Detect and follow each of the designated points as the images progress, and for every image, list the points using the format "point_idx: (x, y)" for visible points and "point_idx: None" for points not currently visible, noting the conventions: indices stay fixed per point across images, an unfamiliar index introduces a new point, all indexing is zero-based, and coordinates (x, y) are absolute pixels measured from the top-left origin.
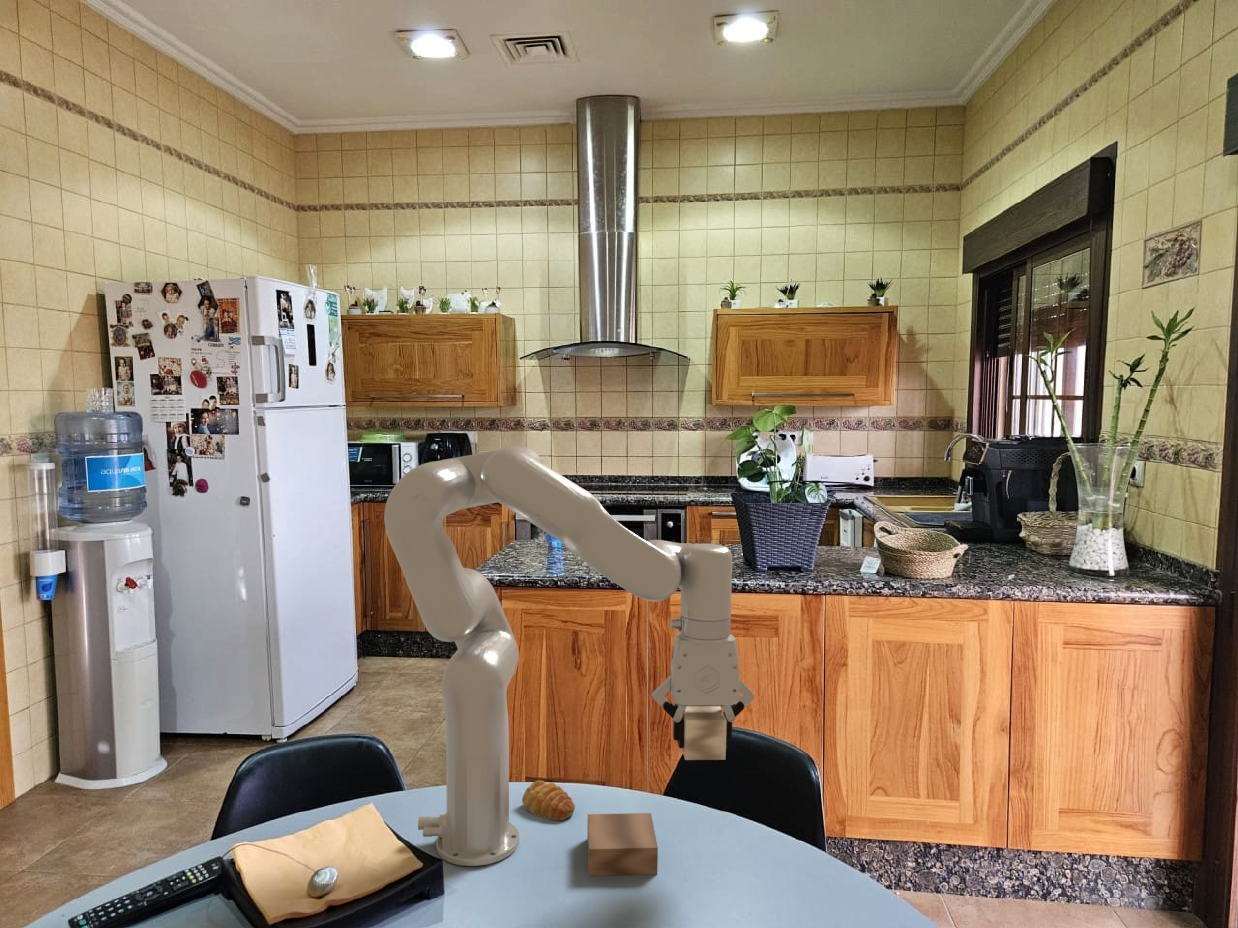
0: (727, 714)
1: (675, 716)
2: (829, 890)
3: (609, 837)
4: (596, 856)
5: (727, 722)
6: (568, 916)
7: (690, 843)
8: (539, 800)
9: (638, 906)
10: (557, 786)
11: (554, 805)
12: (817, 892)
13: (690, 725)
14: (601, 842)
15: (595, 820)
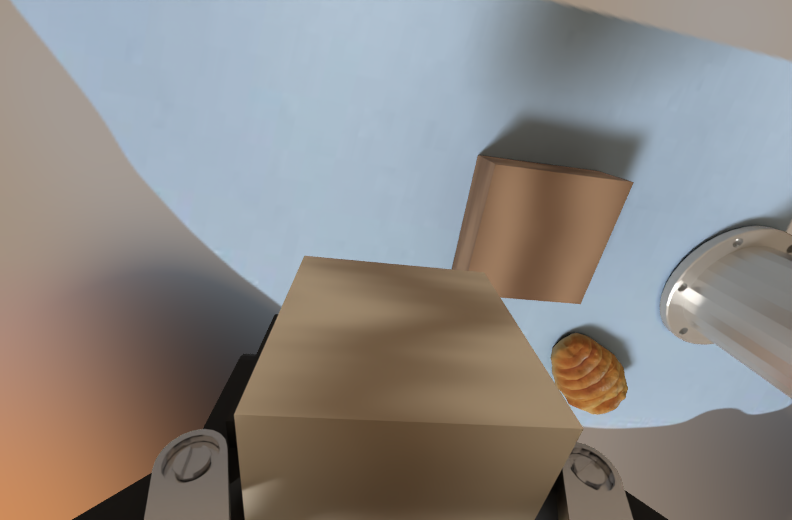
0: (210, 487)
1: (604, 483)
2: (124, 23)
3: (575, 219)
4: (608, 176)
5: (234, 422)
6: (687, 42)
7: (386, 243)
8: (615, 367)
9: (550, 49)
10: (578, 397)
11: (594, 355)
12: (155, 21)
13: (529, 390)
14: (598, 203)
15: (575, 281)
